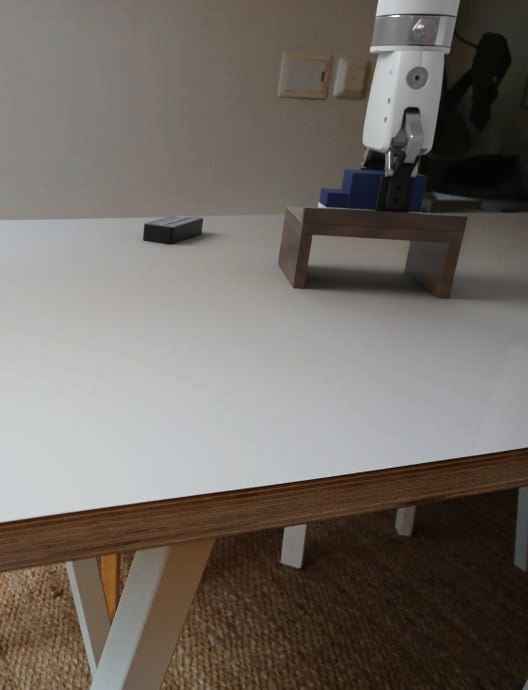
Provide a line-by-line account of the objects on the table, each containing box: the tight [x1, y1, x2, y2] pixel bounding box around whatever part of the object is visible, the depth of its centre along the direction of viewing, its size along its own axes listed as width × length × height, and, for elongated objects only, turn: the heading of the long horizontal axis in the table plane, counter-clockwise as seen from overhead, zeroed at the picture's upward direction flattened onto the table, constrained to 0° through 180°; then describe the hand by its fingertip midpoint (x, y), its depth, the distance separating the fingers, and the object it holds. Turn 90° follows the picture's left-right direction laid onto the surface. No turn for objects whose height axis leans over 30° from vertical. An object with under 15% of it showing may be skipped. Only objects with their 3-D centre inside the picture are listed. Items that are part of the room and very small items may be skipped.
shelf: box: [277, 206, 469, 299], centre depth 83 cm, size 16×12×9 cm
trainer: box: [317, 168, 429, 213], centre depth 81 cm, size 10×4×5 cm, turn 81°
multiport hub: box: [142, 214, 204, 245], centre depth 105 cm, size 4×11×2 cm, turn 146°
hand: (379, 209), depth 82 cm, fingers open, 8 cm apart
